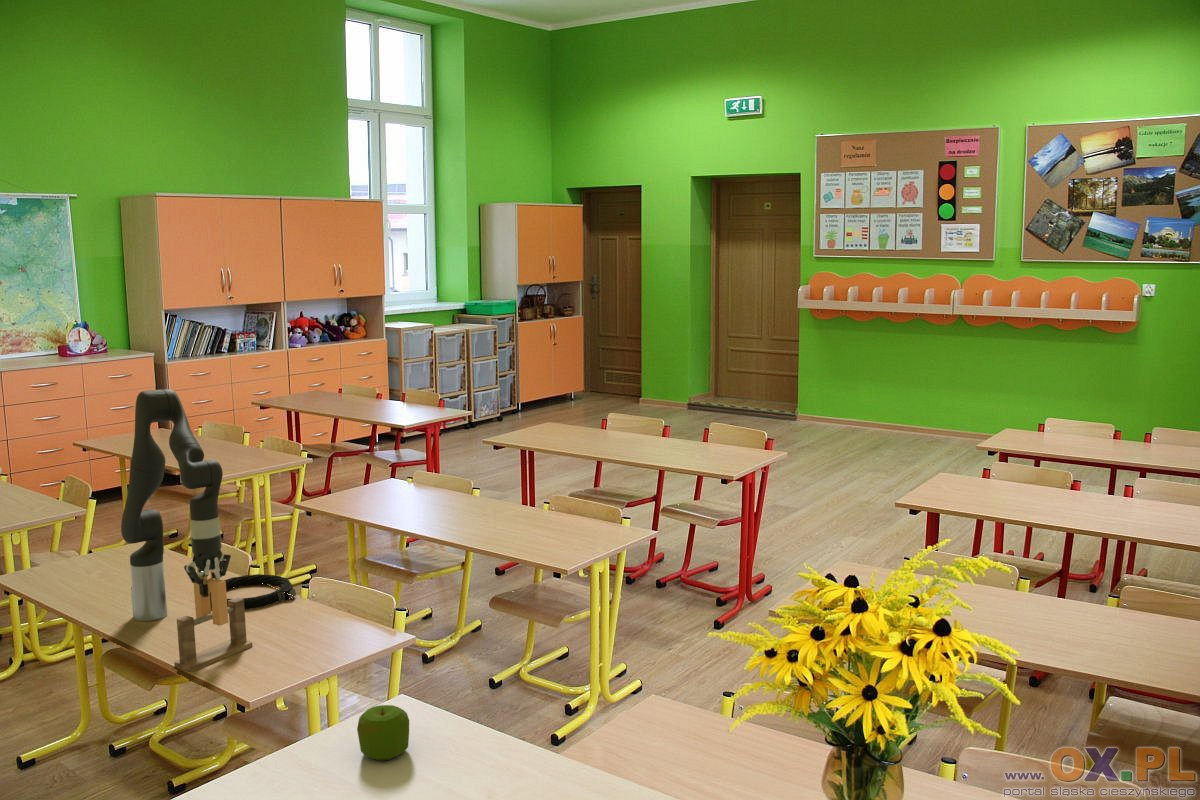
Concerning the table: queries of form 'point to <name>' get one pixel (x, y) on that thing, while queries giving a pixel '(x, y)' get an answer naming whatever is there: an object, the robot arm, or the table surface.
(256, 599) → the cable lock
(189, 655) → the rail
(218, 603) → the orange block
